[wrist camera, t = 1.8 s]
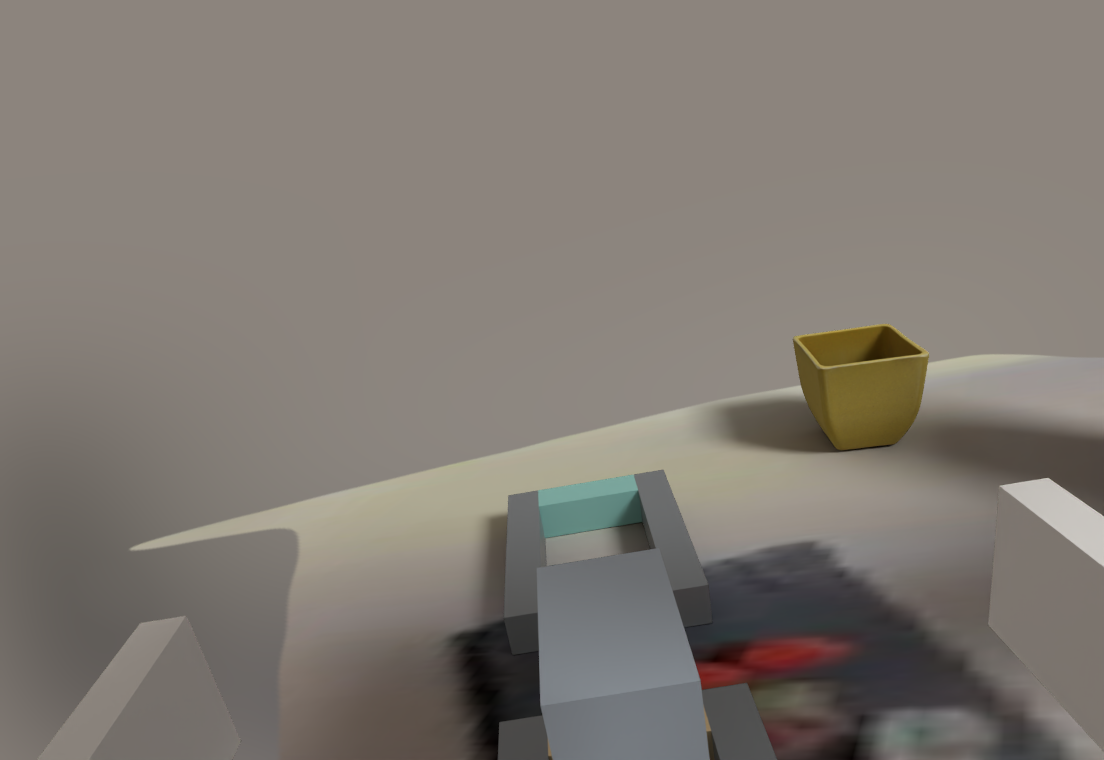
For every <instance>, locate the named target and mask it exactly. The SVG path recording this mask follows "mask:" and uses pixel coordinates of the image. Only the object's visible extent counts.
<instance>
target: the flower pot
mask: <svg viewBox="0 0 1104 760" xmlns="http://www.w3.org/2000/svg"><path fill="white" fill-rule="evenodd" d="M793 342H794V349H795V355H796V361H797V366H798V371H799V377H800V382H801V387H802V390H803V393H804V396H805V399H806V401H807V403H808V406H809V408H810V410H811V412H812V413H813V415H814V417H815V419H816V420H817V422H818V423H819V425H820V427H821V428H822V430H823V431H824V432H825V434H826V435H827V436H828V438H829V439H830V441H831V442H832V444H833V445H834V446H835V448H837V449H838V450H848V449H857V448H865V447H873V446H881V445H891V444H895V443H897V442H898V441H899V440H900V439H901V438H902V437H903V436H904V434H905V433H906V432H907V431H908V429H909V428H910V427H911V425H912V423H913V422H914V420H915V418H916V416H917V413H918V411H919V408H920V404H921V399H922V394H923V389H924V383H925V377H926V371H927V364H928V358H929V353H928V352H927V351H926V350H924V349H923V348H921V347H920V346H918V345H917V344H916V343H914V342H913V341H911V340H909V339H908V338H907V337H905V336H904V335H903V334H902V333H901V332H899V331H898V330H897V329H895V328H894V327H893V326H891V325H889V324H879V325H872V326H865V327H858V328H851V329H844V330H837V331H829V332H822V333H814V334H807V335H800V336H794V337H793Z"/></svg>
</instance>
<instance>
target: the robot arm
mask: <svg viewBox="0 0 1104 760" xmlns="http://www.w3.org/2000/svg"><path fill="white" fill-rule="evenodd" d="M988 625H989V626H990V627H991V629H992V630H993V631H994V632H995V633H996V634H997V635H998V636H999V637H1000V638H1001V640H1002V641H1003V642H1004V643H1005V644H1006V645H1007V646H1008V647H1009V648H1010V649H1011V651H1012V652H1013V653H1014V654H1015V655H1016V656H1017V657H1018V658H1019V659H1020V660H1021V661H1022V663H1023V664H1024V665H1025V666H1026V667H1027V668H1028V669H1029V670H1030V671H1031V672H1032V674H1033V675H1034V676H1035V677H1036V678H1037V679H1038V680H1039V681H1040V682H1041V683H1042V684H1043V686H1044V687H1045V688H1046V689H1047V690H1048V691H1049V692H1050V693H1051V694H1052V695H1053V697H1054V698H1055V699H1056V700H1057V701H1058V702H1059V703H1060V704H1061V705H1062V706H1063V708H1064V709H1065V710H1066V711H1067V712H1068V713H1069V714H1070V715H1071V716H1072V717H1073V718H1074V720H1075V721H1076V722H1077V723H1078V724H1079V725H1080V726H1081V727H1082V728H1083V729H1084V731H1085V732H1086V733H1087V734H1088V735H1089V736H1090V737H1091V738H1092V739H1093V740H1094V742H1095V743H1096V744H1097V745H1098V746H1099V747H1100V748H1101V749H1102V750H1103V751H1104V516H1103V515H1101V514H1100V513H1098V512H1097V511H1095V510H1094V509H1092V508H1091V507H1090V506H1088V505H1087V504H1085V503H1084V502H1082V501H1081V500H1079V499H1078V498H1077V497H1075V496H1074V495H1072V494H1071V493H1069V492H1068V491H1066V490H1065V489H1063V488H1062V487H1061V486H1059V485H1058V484H1056V483H1055V482H1053V481H1052V480H1050V479H1049V478H1044V479H1038V480H1031V481H1025V482H1019V483H1013V484H1006V485H1000V486H999V495H998V507H997V520H996V533H995V545H994V558H993V571H992V583H991V596H990V609H989V621H988ZM240 742H241V739H240V737H239V735H238V733H237V730H236V728H235V726H234V724H233V721H232V719H231V717H230V714H229V712H228V710H227V708H226V705H225V703H224V701H223V698H222V696H221V694H220V691H219V690H218V687H217V684H216V682H215V680H214V678H213V676H212V673H211V671H210V668H209V666H208V664H207V662H206V659H205V657H204V655H203V652H202V650H201V648H200V646H199V643H198V641H197V639H196V637H195V634H194V632H193V630H192V627H191V625H190V623H189V620H188V618H187V616H182V617H175V618H169V619H163V620H157V621H151V622H144V623H140V624H139V626H138V627H137V628H136V630H135V631H134V632H133V634H132V635H131V636H130V637H129V639H128V640H127V642H126V643H125V644H124V645H123V647H122V648H121V650H120V651H119V652H118V653H117V655H116V656H115V657H114V659H113V660H112V661H111V663H110V664H109V665H108V666H107V668H106V669H105V671H104V672H103V673H102V674H101V676H100V677H99V678H98V680H97V681H96V683H95V684H94V685H93V686H92V688H91V689H90V690H89V692H88V693H87V694H86V695H85V697H84V698H83V699H82V701H81V702H80V704H79V705H78V706H77V707H76V709H75V710H74V711H73V713H72V714H71V715H70V717H69V718H68V719H67V721H66V722H65V723H64V725H63V726H62V727H61V729H60V730H59V731H58V733H57V734H56V735H55V736H54V738H53V739H52V740H51V742H50V743H49V745H48V746H47V747H46V748H45V750H44V751H43V752H42V754H41V755H40V756H39V757H38V759H37V760H233V758H234V756H235V753H236V751H237V749H238V747H239V745H240Z"/></svg>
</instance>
